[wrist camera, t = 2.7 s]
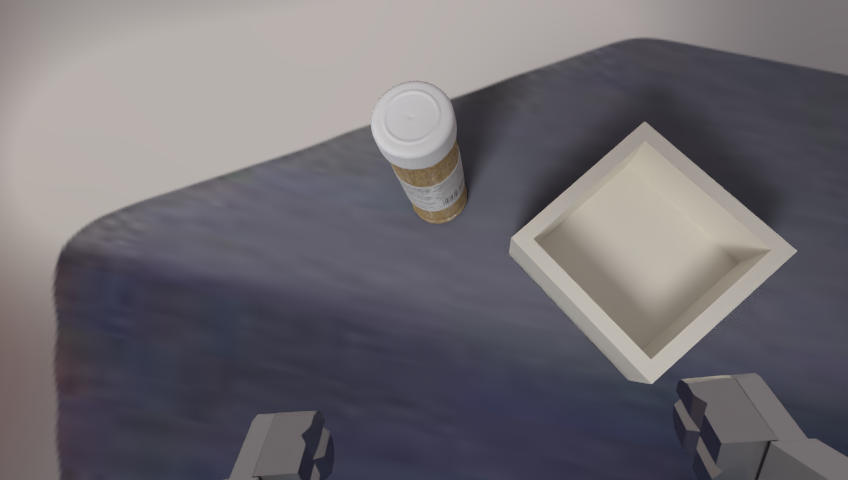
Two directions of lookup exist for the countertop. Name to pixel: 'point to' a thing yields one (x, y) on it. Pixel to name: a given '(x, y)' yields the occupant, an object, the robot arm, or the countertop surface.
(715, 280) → the box
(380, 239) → the countertop surface
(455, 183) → the sprinkles bottle
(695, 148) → the countertop surface
